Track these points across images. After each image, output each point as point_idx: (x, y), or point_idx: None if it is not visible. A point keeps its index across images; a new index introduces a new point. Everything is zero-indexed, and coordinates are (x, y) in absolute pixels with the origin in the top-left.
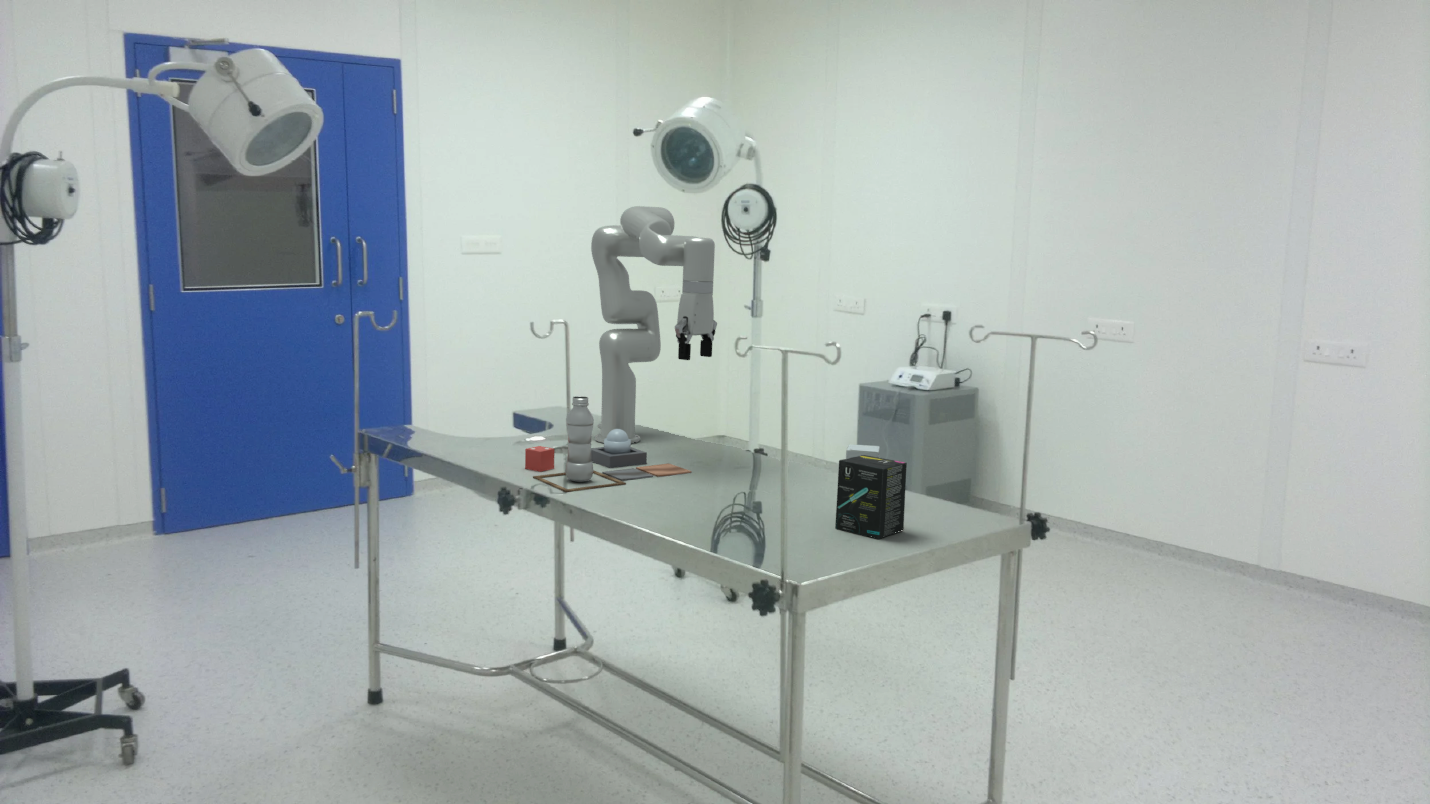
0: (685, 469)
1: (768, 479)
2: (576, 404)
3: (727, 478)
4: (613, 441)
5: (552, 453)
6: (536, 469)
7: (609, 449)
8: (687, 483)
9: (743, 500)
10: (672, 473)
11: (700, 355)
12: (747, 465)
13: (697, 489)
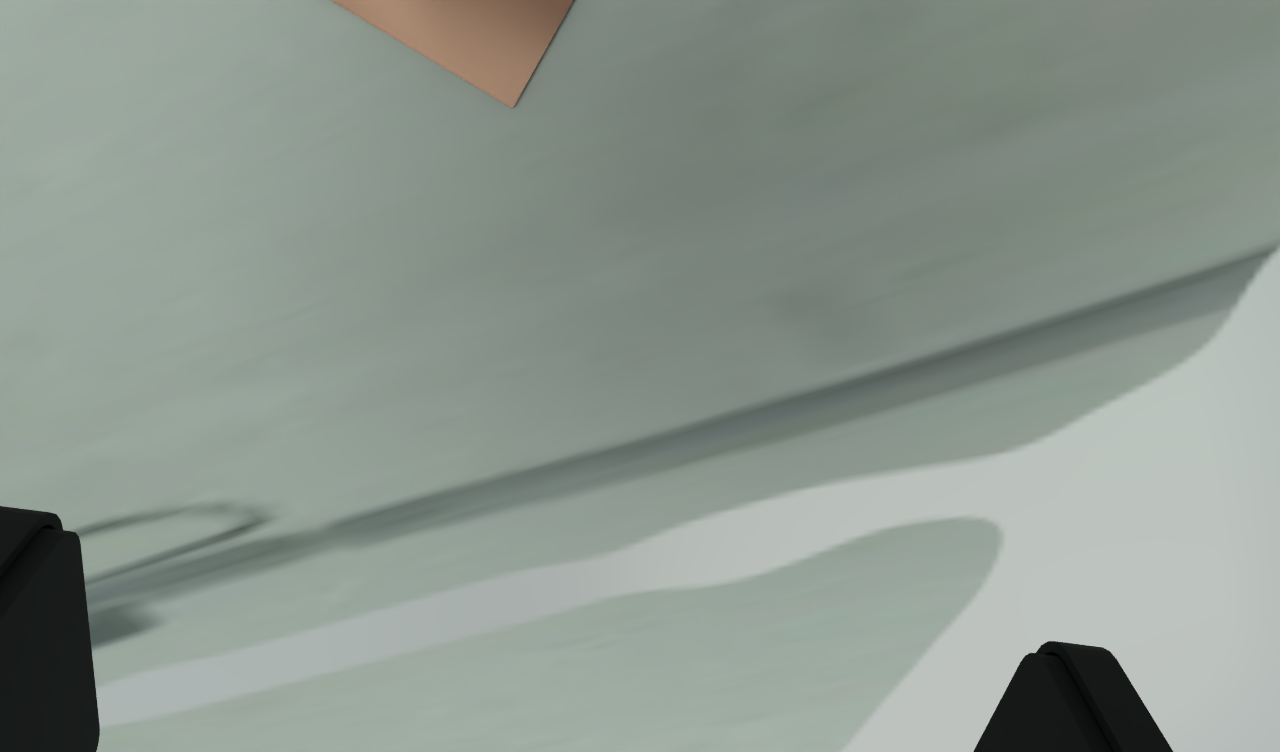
0: (535, 50)
1: (605, 528)
2: None
3: (500, 352)
4: None
5: None
6: None
7: None
8: (225, 202)
9: (109, 566)
10: (364, 18)
11: (1052, 643)
12: (904, 331)
13: (136, 309)
